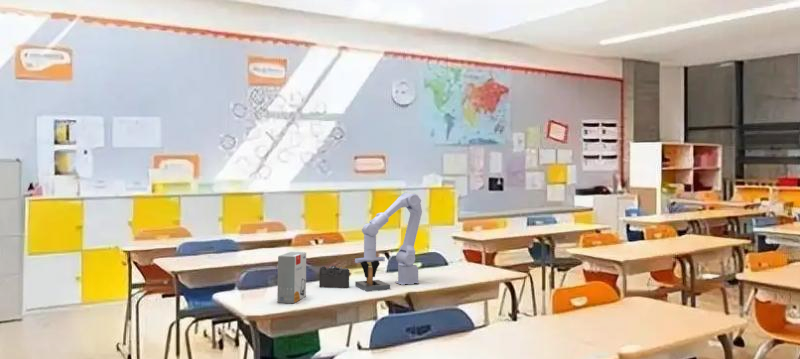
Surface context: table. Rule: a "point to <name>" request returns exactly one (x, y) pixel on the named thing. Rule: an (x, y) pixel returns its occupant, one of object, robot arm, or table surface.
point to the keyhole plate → (368, 287)
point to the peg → (370, 275)
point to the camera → (334, 277)
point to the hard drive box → (291, 277)
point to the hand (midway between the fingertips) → (369, 277)
